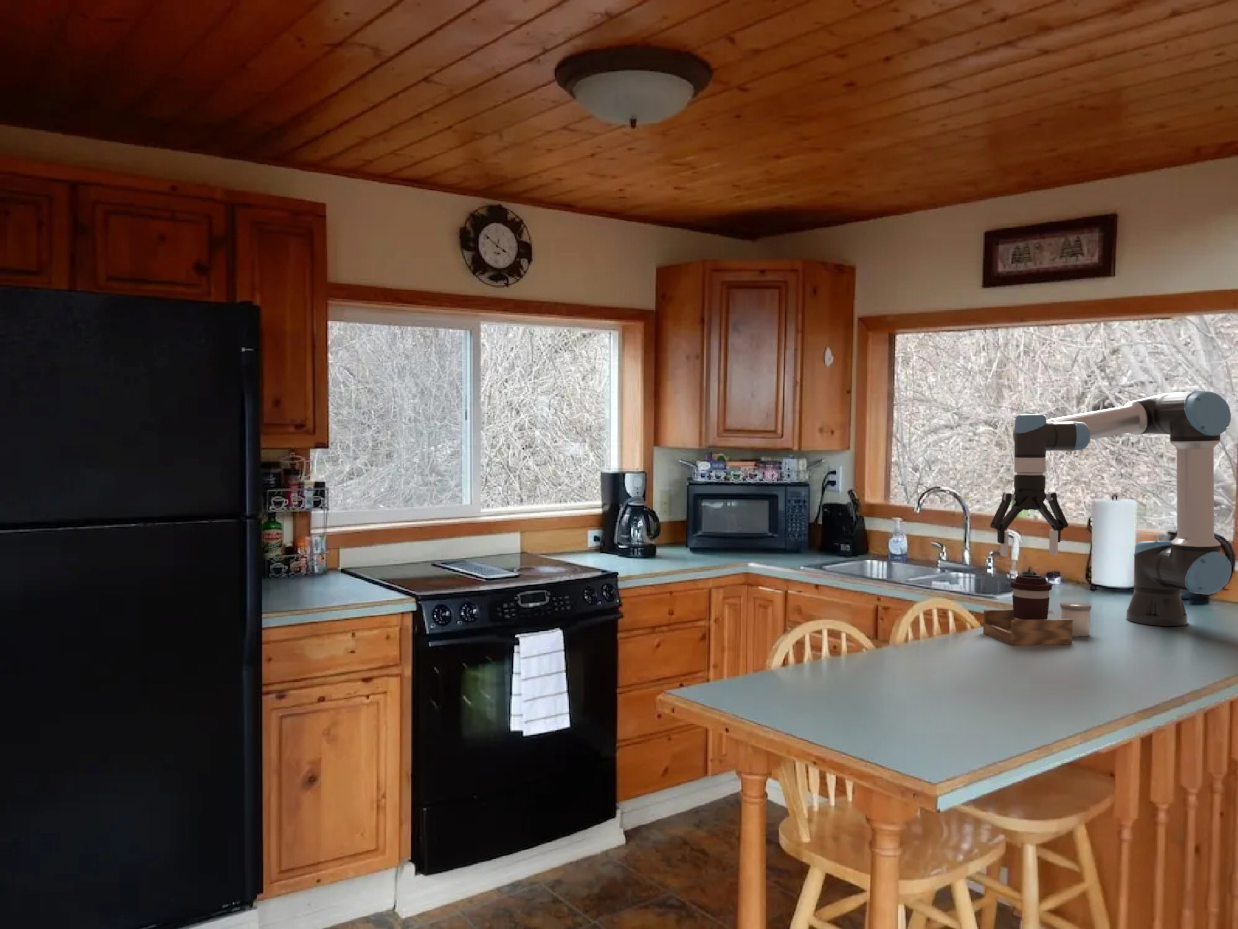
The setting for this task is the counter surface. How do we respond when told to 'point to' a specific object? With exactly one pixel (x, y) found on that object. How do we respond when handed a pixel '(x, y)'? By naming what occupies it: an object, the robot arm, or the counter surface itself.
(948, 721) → the counter surface
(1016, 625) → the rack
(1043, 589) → the coffee cup
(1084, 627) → the sugar jar
